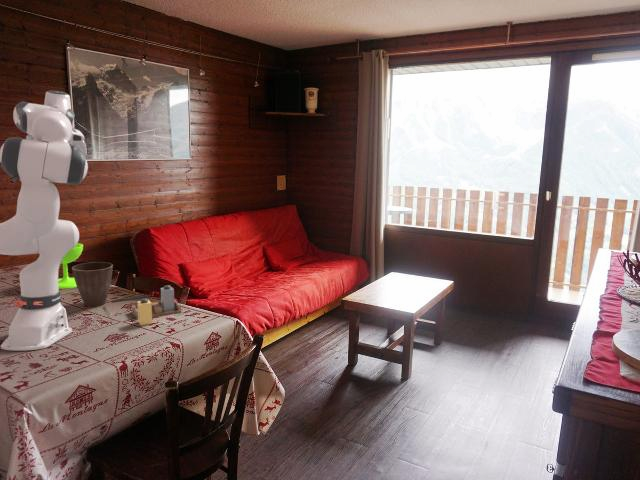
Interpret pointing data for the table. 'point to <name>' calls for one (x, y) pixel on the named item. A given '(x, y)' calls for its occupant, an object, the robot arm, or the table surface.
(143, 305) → the plug ochre
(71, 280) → the wineglass
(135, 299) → the phone
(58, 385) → the table surface
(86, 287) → the plant pot
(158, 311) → the slot rack
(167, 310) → the plug grey
